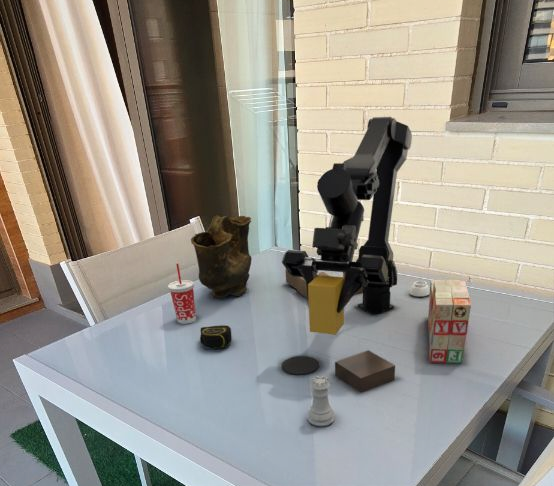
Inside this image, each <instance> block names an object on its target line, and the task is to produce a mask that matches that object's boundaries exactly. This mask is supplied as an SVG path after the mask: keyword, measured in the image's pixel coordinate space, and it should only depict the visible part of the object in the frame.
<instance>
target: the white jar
mask: <svg viewBox="0 0 554 486" xmlns="http://www.w3.org/2000/svg"><path fill="white" fill-rule="evenodd" d="M409 294H410V295H411V296H413V297H417V298H420V297H421V298H422V297H426V296H430V286H429V285H428V282H427V281H425V280H416V281H414V282H413V285H411V287H410V289H409Z"/></svg>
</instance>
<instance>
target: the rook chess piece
mask: <svg viewBox="0 0 554 486" xmlns="http://www.w3.org/2000/svg"><path fill="white" fill-rule="evenodd" d="M309 384H310V385H309V386H310V387H311V389H312V391H311V394H312V405H311V406H310V409H308V414H307V415H308V417H307V420H308V422H309V423H310V424H311V425H312V426H315V427H328V426H329V425H331V424H332V423H333V421H334V420H335V416H334V415H335V412H334V409H333V407H332V406H331V405H330V401H329V394H330V391H329V387H331V383H330V381H329V377H327V376H325V375H321V377H320V375H316V376H315V377H313V378H312V381H311V383H309Z"/></svg>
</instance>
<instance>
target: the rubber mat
mask: <svg viewBox="0 0 554 486" xmlns="http://www.w3.org/2000/svg"><path fill="white" fill-rule="evenodd" d="M319 367H320V361H319V360H318V359H316V358H314V357H311V356H307V355H297V356H291V357H289V358H287V359H285V360H284V361H283V362H282V363H281V370H282V371H283V372H284V373H286V374H289V375H291V376H292V375H293V376H306V375H309V374H313V373H314V372H316V371H317V370H318V369H319Z"/></svg>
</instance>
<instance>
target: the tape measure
mask: <svg viewBox="0 0 554 486" xmlns="http://www.w3.org/2000/svg"><path fill="white" fill-rule="evenodd" d="M199 340H200V341H199V342H200V343H201V344H202V346H203V347H204V348H207V349H221V348H225V347H228V346H229V345H230V344H231V343H232V341H233V340H232V328H231V327H230V326H229V325H225V324H224V325H223V324H222V325H221V324H220V325H212V326H202V327H200V338H199Z"/></svg>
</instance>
